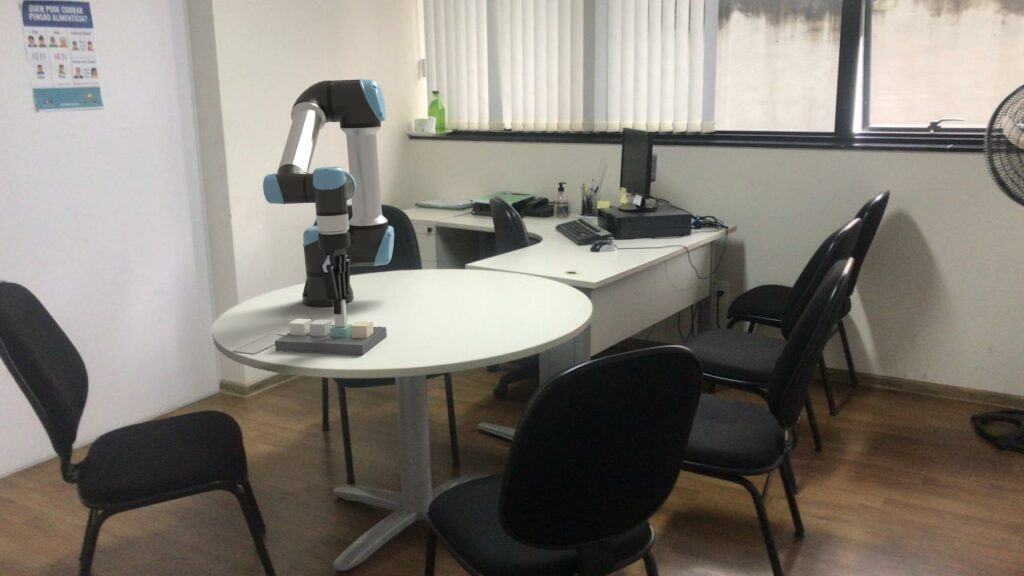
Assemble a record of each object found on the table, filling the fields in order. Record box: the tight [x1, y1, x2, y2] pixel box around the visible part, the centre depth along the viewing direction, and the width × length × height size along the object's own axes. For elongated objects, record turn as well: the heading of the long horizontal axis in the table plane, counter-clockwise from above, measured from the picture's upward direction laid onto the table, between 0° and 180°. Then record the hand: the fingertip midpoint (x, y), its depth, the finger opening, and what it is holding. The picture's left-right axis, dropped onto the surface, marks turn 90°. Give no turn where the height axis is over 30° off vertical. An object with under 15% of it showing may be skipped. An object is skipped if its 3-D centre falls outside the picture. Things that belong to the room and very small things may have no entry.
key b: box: [309, 319, 333, 337], centre depth 199 cm, size 4×4×3 cm
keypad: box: [274, 324, 388, 356], centre depth 199 cm, size 15×23×2 cm, turn 77°
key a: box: [288, 318, 312, 336], centre depth 200 cm, size 4×4×3 cm
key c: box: [330, 323, 353, 338], centre depth 198 cm, size 4×4×3 cm
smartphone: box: [232, 333, 285, 355], centre depth 201 cm, size 7×1×15 cm
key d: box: [351, 320, 374, 338], centre depth 196 cm, size 4×4×3 cm
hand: (341, 325), depth 197 cm, fingers closed
